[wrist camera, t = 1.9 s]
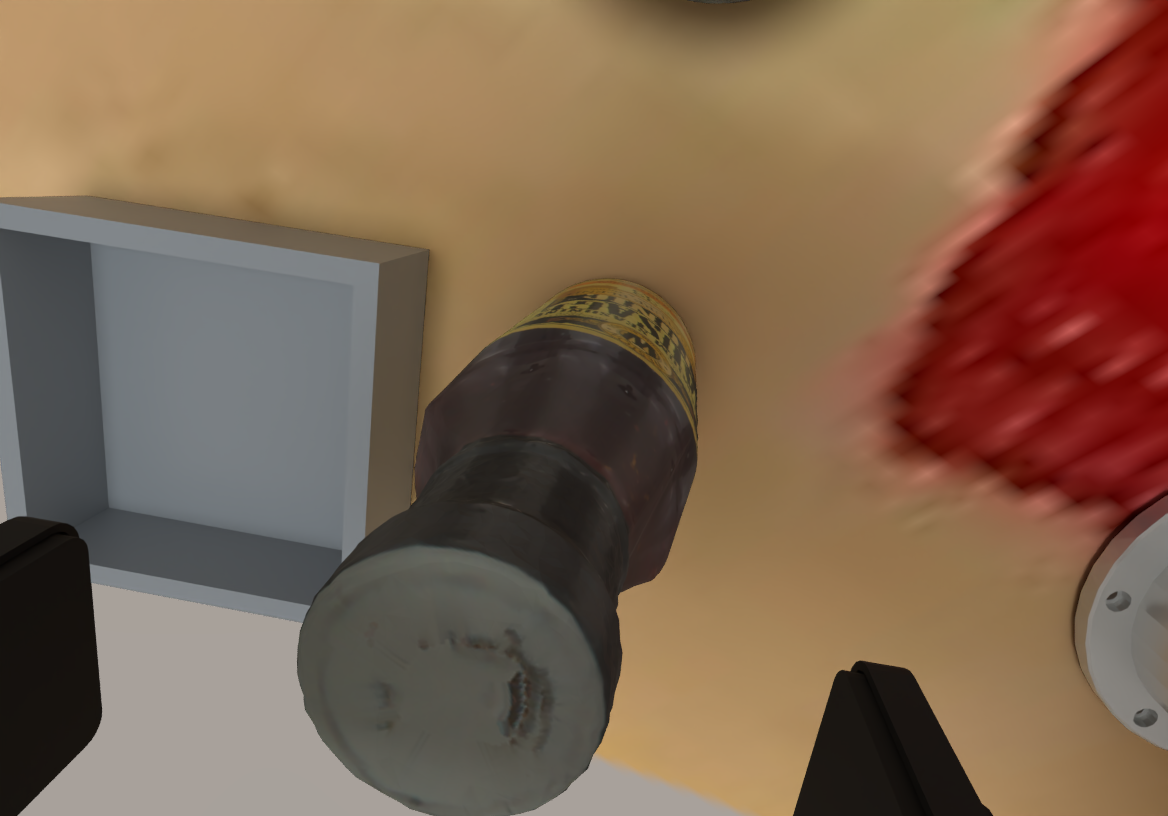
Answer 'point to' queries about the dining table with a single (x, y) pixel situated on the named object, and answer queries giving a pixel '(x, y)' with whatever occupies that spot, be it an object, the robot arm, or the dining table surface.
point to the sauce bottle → (511, 561)
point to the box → (206, 394)
